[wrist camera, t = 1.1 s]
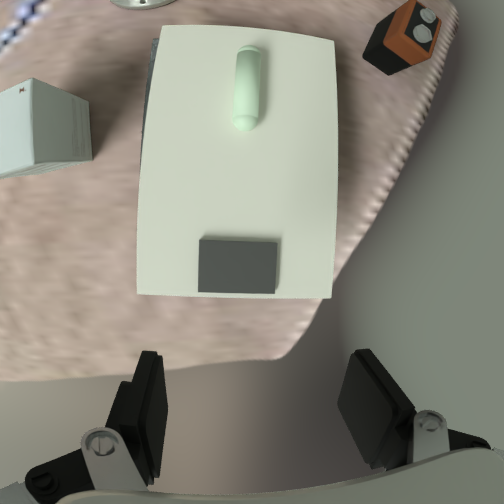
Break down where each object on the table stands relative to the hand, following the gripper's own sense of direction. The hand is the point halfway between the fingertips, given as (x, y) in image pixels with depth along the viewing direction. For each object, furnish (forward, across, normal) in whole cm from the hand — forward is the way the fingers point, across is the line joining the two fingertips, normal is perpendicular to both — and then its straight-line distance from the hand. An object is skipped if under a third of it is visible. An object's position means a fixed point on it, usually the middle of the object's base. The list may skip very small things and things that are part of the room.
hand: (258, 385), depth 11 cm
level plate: (+18, 0, -9) cm, 20 cm away
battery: (+24, -17, -26) cm, 39 cm away
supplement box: (+24, +20, -12) cm, 33 cm away
